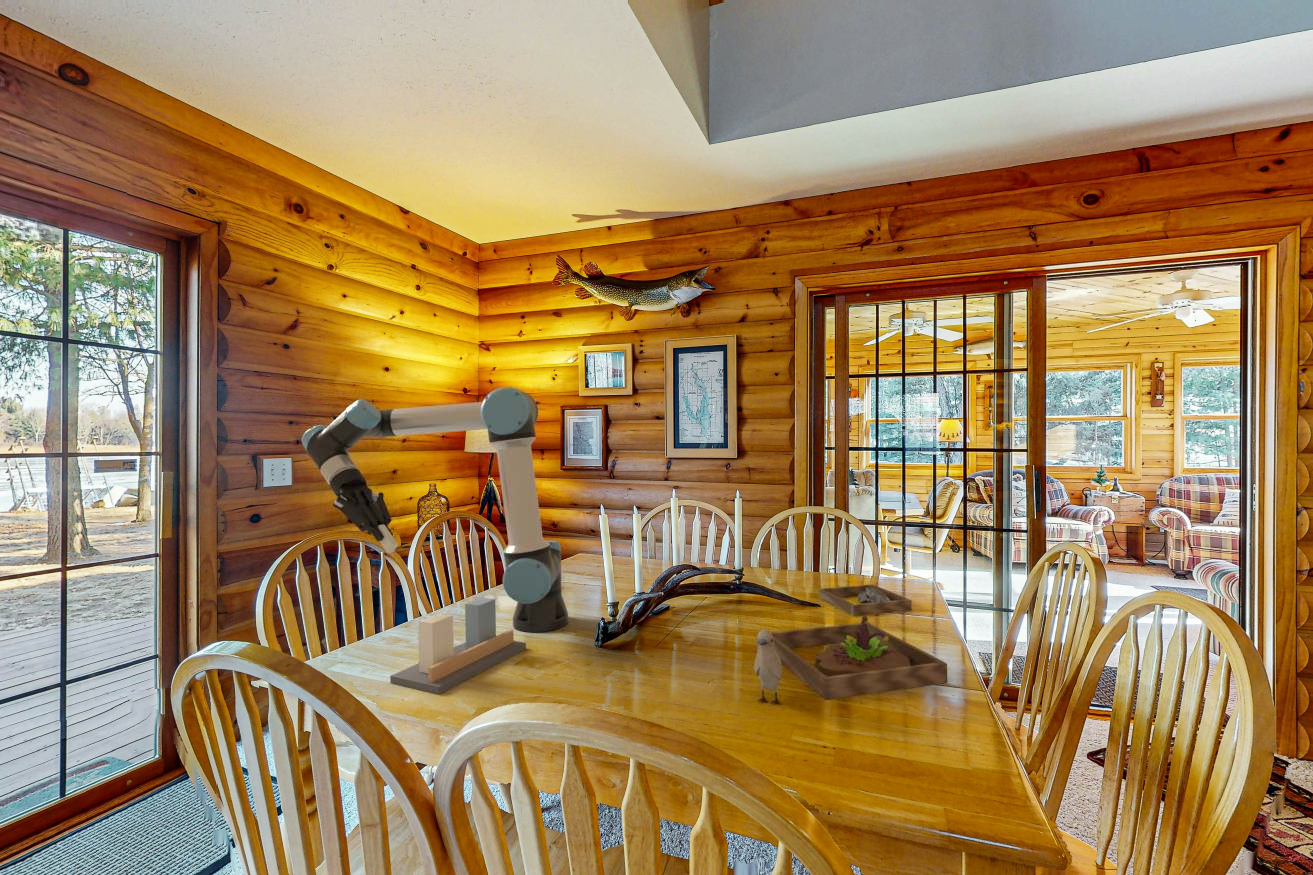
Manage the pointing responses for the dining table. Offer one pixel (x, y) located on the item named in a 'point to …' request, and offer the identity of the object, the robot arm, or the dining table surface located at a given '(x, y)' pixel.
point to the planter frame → (917, 675)
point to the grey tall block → (480, 621)
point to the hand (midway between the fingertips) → (392, 548)
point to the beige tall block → (435, 640)
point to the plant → (859, 655)
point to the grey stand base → (460, 664)
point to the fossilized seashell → (872, 596)
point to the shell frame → (895, 605)
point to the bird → (767, 664)
